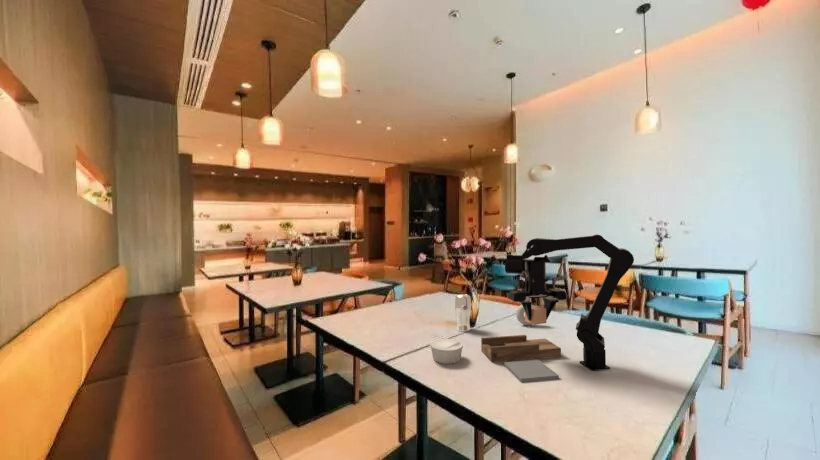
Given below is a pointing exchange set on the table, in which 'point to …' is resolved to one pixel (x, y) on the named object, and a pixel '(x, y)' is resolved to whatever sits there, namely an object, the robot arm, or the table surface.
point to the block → (537, 315)
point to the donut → (522, 315)
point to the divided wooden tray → (517, 348)
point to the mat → (530, 370)
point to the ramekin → (446, 350)
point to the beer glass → (463, 312)
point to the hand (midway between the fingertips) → (537, 319)
